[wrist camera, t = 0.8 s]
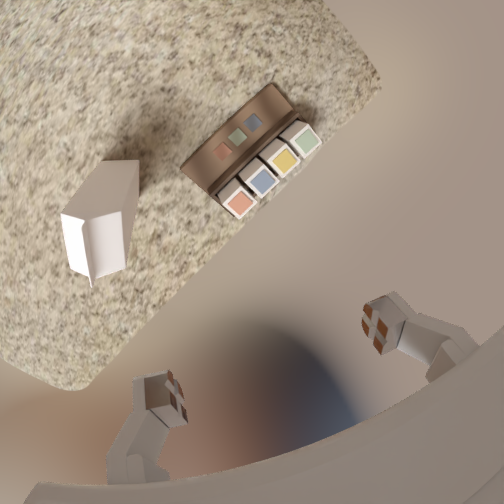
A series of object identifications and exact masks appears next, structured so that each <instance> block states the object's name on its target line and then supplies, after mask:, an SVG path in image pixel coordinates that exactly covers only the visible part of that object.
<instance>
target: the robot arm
mask: <svg viewBox="0 0 504 504" xmlns="http://www.w3.org/2000/svg"><path fill="white" fill-rule="evenodd" d="M363 311H364V312H365V314H364V315H363V317H362V322H361V323H362V328H363V330H364V332H365V334H366V335H367V337H368V338H371V339H373V340H374V341H373V345H374V347H375V348H376V349H377V351H378V352H379V353H380V355H383V354H385V353H387V352H389V351H391V350H393V349H395V348H397V349H398V350H400V351H402V352H404V353H406V354H408V355H410V356H412V357H414V358H416V359H418V360H420V361H422V362H424V363H425V364H427V365H429V366H430V368H429V369H428V371H427V373H426V376H425V377H426V379H427V380H428V382H429V383H430V384H428V385H426V386H425V387H423V388H422V389H421V390H419V391H417V392H415V393H414V394H413V395H411V396H409V397H407V398H406V399H404V400H402V401H400V402H399V403H397V404H395V405H394V406H392V407H390V408H388V409H387V410H384V411H383V412H381V413H379V414H377V415H375V416H373V417H371V418H369V419H367V420H365V421H363V422H361V423H359V424H357V425H355V426H353V427H351V428H348V429H346V430H344V431H342V432H340V433H338V434H335V435H333V436H330V437H328V438H326V439H323V440H321V441H318V442H316V443H313V444H311V445H308V446H306V447H303V448H300V449H297V450H294V451H291V452H289V453H286V454H283V455H280V456H277V457H274V458H270V459H267V460H264V461H260V462H257V463H253V464H249V465H246V466H242V467H238V468H234V469H230V470H225V471H221V472H217V473H212V474H207V475H201V476H195V477H190V478H183V479H176V480H170V476H169V472H168V471H167V470H165V469H163V468H161V467H160V466H158V465H156V464H157V461H158V458H159V456H160V453H161V451H162V448H163V445H164V443H165V440H166V437H167V435H168V432H169V430H170V429H169V428H172V427H177V426H181V425H185V424H188V418H187V412H186V409H185V408H184V407H183V406H182V404H183V403H184V395H183V392H182V388H181V386H180V384H179V382H178V381H177V380H176V379H173V374H172V372H171V371H170V370H166V371H161V372H157V373H151V374H147V375H142V376H137V377H134V378H133V413H130V414H129V416H128V418H127V420H126V421H125V423H124V425H123V427H122V428H121V430H120V432H119V434H118V436H117V437H116V439H115V441H114V442H113V444H112V446H111V448H110V450H109V452H108V453H107V455H106V466H107V481H108V485H83V484H64V483H54V482H39V483H38V484H37V485H36V486H35V487H34V488H33V489H32V491H31V492H30V494H29V495H28V497H27V498H26V500H25V502H24V504H504V326H503V327H502V328H501V329H499V330H498V331H497V332H496V333H495V334H494V335H493V336H492V337H490V338H489V339H488V340H487V341H486V342H485V343H483V344H482V345H481V346H479V345H478V344H477V343H476V342H475V341H474V339H473V338H472V337H471V336H470V335H469V334H468V333H467V332H466V331H465V329H464V328H462V327H458V326H456V325H453V324H450V323H447V322H444V321H442V320H439V319H436V318H433V317H430V316H427V315H424V314H421V313H419V314H417V313H416V312H415V311H414V310H413V309H412V308H411V307H410V306H409V305H408V304H407V303H406V301H405V300H404V299H403V298H402V297H401V296H400V295H399V294H398V293H397V292H395V291H393V292H391V293H389V294H386V295H384V296H381V297H379V298H377V299H375V300H372V301H370V302H368V303H366V304H365V305H364V307H363Z"/></svg>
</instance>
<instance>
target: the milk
mask: <svg viewBox="0 0 504 504" xmlns="http://www.w3.org/2000/svg"><path fill="white" fill-rule="evenodd" d="M138 201H139V160H111V161H101V162H100V163H99V164H98V165H97V166H96V168H95V169H94V170H93V171H92V172H91V174H90V175H89V176H88V177H87V179H86V180H85V181H84V182H83V184H82V185H81V186H80V188H79V189H78V190H77V192H76V193H75V194H74V196H73V197H72V198H71V200H70V201H69V202H68V204H67V205H66V206H65V208H64V209H63V211H62V212H61V220H62V227H63V233H64V239H65V245H66V250H67V255H68V260H69V265H70V268H71V269H72V270H74V271H76V272H79V273H81V274H83V275H86V276H88V277H89V280H90V285H91V287H93V285H94V281H95V279H97V278H99V277H102V276H105V275H108V274H111V273H113V272H116V271H119V270H122V269H125V268H126V265H127V258H128V252H129V246H130V241H131V235H132V230H133V225H134V219H135V215H136V210H137V205H138Z"/></svg>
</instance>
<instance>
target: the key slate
mask: <svg viewBox="0 0 504 504" xmlns="http://www.w3.org/2000/svg"><path fill="white" fill-rule="evenodd" d="M238 175H239V176H240V177H241V178H242V180H243V181H244V182H245V183H246V184H247V185H248V186H249V187H250V188H251V189H252V190H253V191H254V192H255V193H256V194H257V195H258V196H259V197H260V198H261V199H262V198H263V197H264V196H265V195H266V194H267V193H268V192H269V191H270V190H271V189H272V188H273V187H274V186H275V185H276V184H277V183H279V182H280V181H279V180H278V179H277V178H276V177H275V175H274V174H273V173H272V172H271V171H270V170H269V169H268V168H267V167H266V166H265V165H264V164H263V163H262V162H261V161H260V160H258V159H257V158H256V157H255V158H254V159H253V160H252V161H251V162H250V163H249V164H248V165H247V166H246V167H245V168H244V169H242V170H241V171H240V172H239V173H238Z"/></svg>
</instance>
